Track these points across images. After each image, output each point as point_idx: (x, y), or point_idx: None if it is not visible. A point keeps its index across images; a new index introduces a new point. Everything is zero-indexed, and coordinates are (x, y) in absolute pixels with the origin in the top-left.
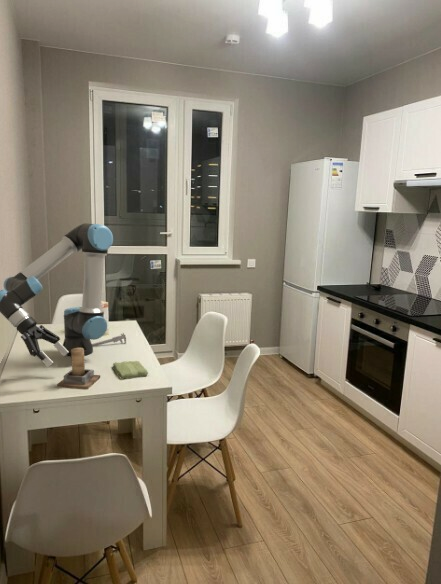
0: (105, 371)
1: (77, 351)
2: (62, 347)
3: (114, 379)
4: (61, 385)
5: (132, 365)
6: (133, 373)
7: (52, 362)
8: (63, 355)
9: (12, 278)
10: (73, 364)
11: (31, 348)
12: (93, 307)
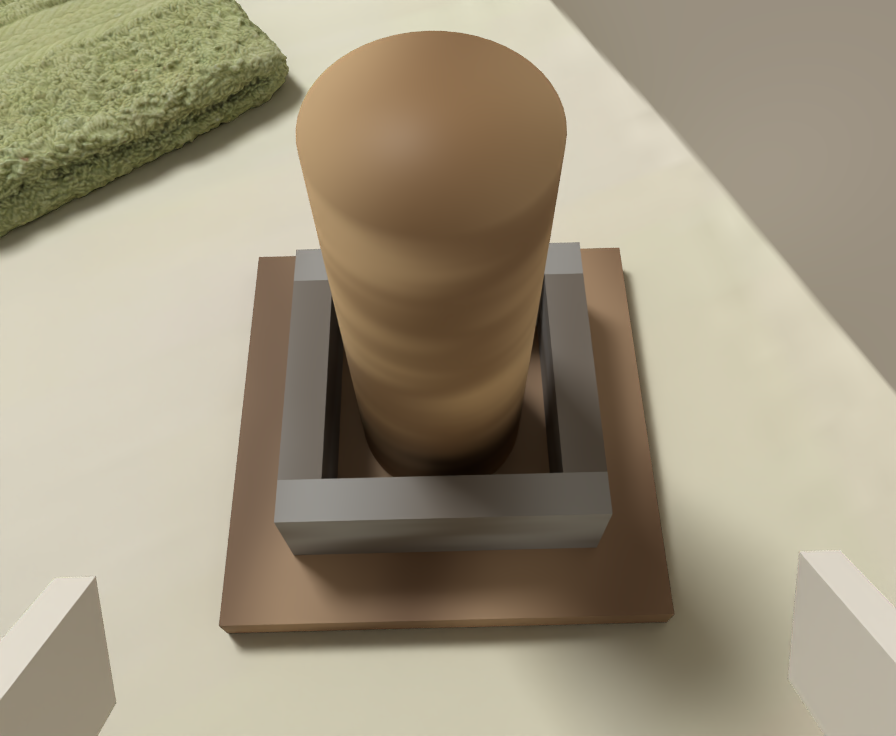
0: (62, 293)
1: (547, 83)
2: (14, 705)
3: None
4: (662, 547)
5: (10, 31)
6: None
7: (833, 556)
8: (106, 712)
9: None
10: (535, 321)
11: None
12: None
